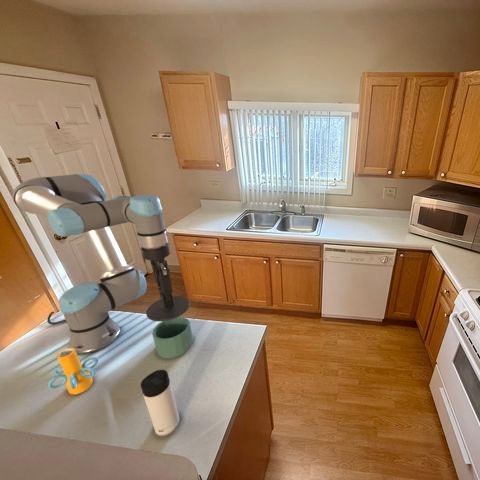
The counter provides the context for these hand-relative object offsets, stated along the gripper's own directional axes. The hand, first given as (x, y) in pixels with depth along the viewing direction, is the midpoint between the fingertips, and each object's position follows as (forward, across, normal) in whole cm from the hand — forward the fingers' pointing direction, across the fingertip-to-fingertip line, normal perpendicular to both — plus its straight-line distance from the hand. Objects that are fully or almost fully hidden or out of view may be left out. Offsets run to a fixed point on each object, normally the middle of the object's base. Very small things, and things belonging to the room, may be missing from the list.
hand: (167, 304), depth 90 cm
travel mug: (+22, -27, +11) cm, 37 cm away
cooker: (+22, +3, 0) cm, 23 cm away
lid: (+2, 0, 0) cm, 2 cm away
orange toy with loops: (+23, +5, +28) cm, 36 cm away
